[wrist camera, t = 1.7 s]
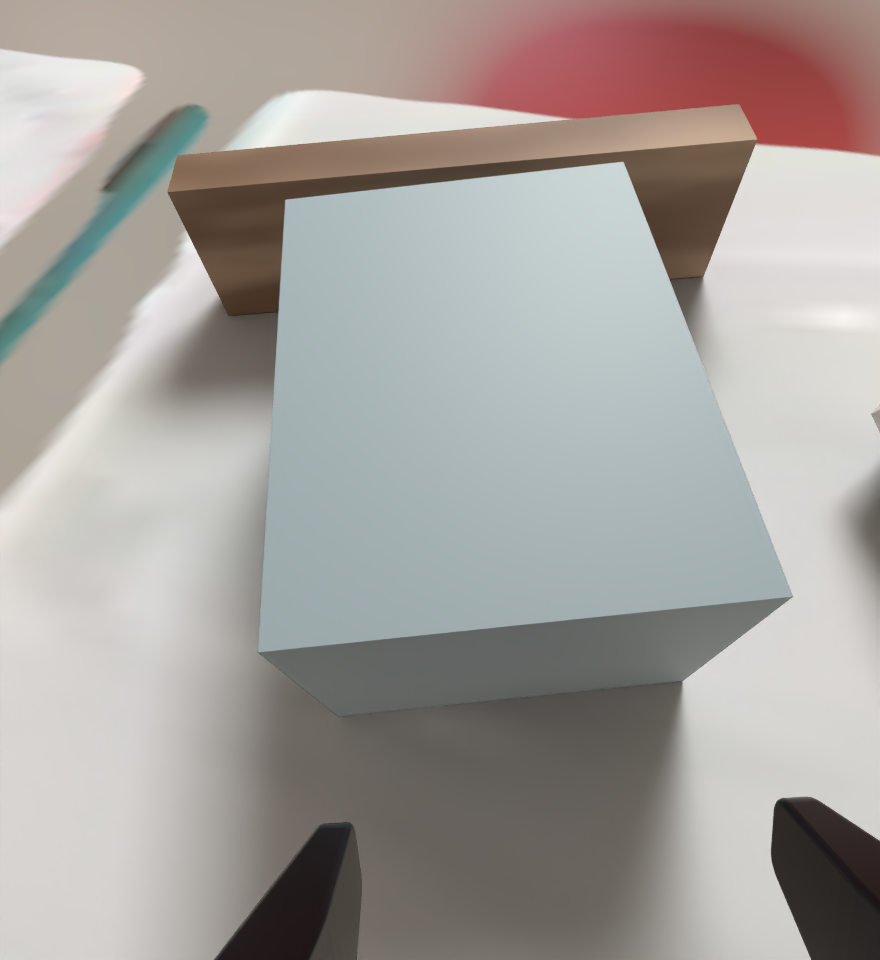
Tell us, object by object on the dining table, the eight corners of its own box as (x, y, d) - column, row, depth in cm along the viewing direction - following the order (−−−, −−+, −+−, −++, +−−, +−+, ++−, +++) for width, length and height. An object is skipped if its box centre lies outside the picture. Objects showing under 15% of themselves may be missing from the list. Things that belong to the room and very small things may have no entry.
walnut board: (703, 276, 31) (757, 139, 25) (228, 315, 31) (167, 192, 25) (691, 242, 32) (738, 104, 26) (234, 281, 33) (177, 155, 27)
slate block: (681, 682, 21) (793, 596, 14) (339, 717, 22) (257, 652, 14) (586, 339, 29) (623, 161, 22) (337, 366, 30) (285, 199, 22)
